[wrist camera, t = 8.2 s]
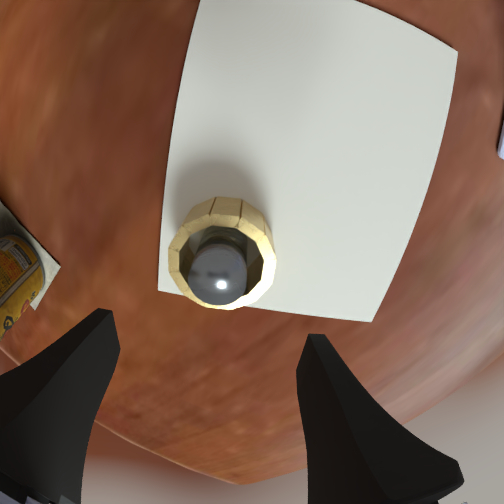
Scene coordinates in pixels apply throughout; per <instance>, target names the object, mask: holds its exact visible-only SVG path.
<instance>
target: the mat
mask: <svg viewBox="0 0 504 504" xmlns="http://www.w3.org/2000/svg"><path fill="white" fill-rule="evenodd" d="M457 55H458V52H457V51H456V50H454V49H452V48H451V47H449V46H448V45H446V44H444V43H443V42H441V41H439V40H438V39H436V38H434V37H433V36H431V35H429V34H427V33H425V32H424V31H422V30H420V29H418V28H416V27H414V26H412V25H410V24H408V23H406V22H404V21H402V20H400V19H398V18H396V17H394V16H392V15H389V14H387V13H385V12H383V11H380V10H378V9H376V8H373V7H371V6H368V5H366V4H363V3H360V2H358V1H355V0H201V1H200V4H199V8H198V11H197V15H196V19H195V23H194V26H193V30H192V34H191V38H190V43H189V47H188V51H187V55H186V60H185V64H184V69H183V74H182V79H181V84H180V89H179V94H178V100H177V105H176V111H175V117H174V123H173V129H172V136H171V143H170V150H169V157H168V165H167V173H166V182H165V191H164V201H163V212H162V224H161V238H160V255H159V277H158V290H159V291H164V292H170V293H175V294H180V295H183V293H181V291H180V290H179V288H178V287H177V285H176V284H175V282H174V281H173V279H172V277H171V276H170V274H169V272H168V247H169V245H170V243H171V241H172V239H173V238H174V236H175V234H176V232H177V230H178V229H179V227H180V225H181V224H182V222H183V221H184V219H185V218H186V216H187V215H188V213H189V212H190V210H191V209H192V207H194V206H195V205H197V204H199V203H202V202H204V201H206V200H208V199H211V198H213V197H216V198H217V196H220V197H230V198H240V199H241V201H242V200H245V201H246V202H248V203H249V204H250V205H252V206H253V207H255V208H256V209H257V210H259V211H260V212H262V213H263V214H264V217H265V219H266V221H267V223H268V226H269V228H270V230H271V233H272V236H273V242H274V248H275V254H276V264H275V270H274V275H273V281H272V283H271V285H270V286H269V287H268V288H267V289H266V290H265V292H264V293H263V294H262V295H261V296H260V297H259V298H258V299H257V300H256V301H255V300H254V302H252V303H250V304H247V305H244V306H249V307H256V308H262V309H269V310H276V311H283V312H290V313H297V314H305V315H313V316H321V317H329V318H338V319H347V320H356V321H366V322H371V321H372V320H373V318H374V316H375V314H376V312H377V310H378V308H379V306H380V304H381V302H382V300H383V298H384V296H385V293H386V291H387V289H388V287H389V285H390V283H391V281H392V279H393V276H394V274H395V272H396V270H397V267H398V265H399V263H400V260H401V258H402V256H403V253H404V251H405V249H406V246H407V244H408V241H409V239H410V236H411V234H412V231H413V228H414V226H415V223H416V220H417V218H418V215H419V212H420V209H421V207H422V204H423V201H424V198H425V195H426V192H427V189H428V186H429V183H430V179H431V176H432V173H433V169H434V166H435V163H436V159H437V156H438V152H439V148H440V144H441V140H442V136H443V132H444V128H445V124H446V119H447V115H448V110H449V105H450V100H451V95H452V89H453V83H454V77H455V70H456V63H457ZM205 229H206V228H205ZM205 229H202V230H200V231H198V232H195V233H193V234H191V235H190V237H189V247H190V249H191V250H192V252H193V254H194V256H195V254H196V252H197V249H198V246H199V243H200V241H201V238H202V235H203V232H204V231H205ZM246 236H247V235H246ZM259 254H260V250H259V248H258V246H257V244H256V241H254V240H253V239H251V238H250V237H249V236H247V268H248V267H249V266H250V265H251V264H252V262H253V261H254V260H255V259H256V258H257V257H258V255H259Z"/></svg>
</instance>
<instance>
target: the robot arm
mask: <svg viewBox="0 0 504 504" xmlns="http://www.w3.org/2000/svg"><path fill="white" fill-rule="evenodd" d="M498 155H499V157H501V158H502V159H504V122H503V128H502V133H501V137H500V142H499V146H498ZM119 353H120V345H119V340H118V336H117V331H116V327H115V322H114V317H113V312H112V311H111V310H106V309H101V308H98V309H96V310H95V311H93V312H92V313H91V314H90V315H88V316H87V317H86V318H85V319H83V320H82V321H81V322H80V323H78V324H77V325H76V326H75V327H73V328H72V329H71V330H69V331H68V332H67V333H66V334H64V335H63V336H62V337H61V338H59V339H58V340H57V341H55V342H54V343H53V344H51V345H50V346H48V347H47V348H46V349H44V350H43V351H42V352H40V353H39V354H37V355H36V356H34V357H33V358H31V359H30V360H28V361H26V362H25V363H23V364H21V365H20V366H18V367H16V368H14V369H12V370H10V371H8V372H6V373H4V374H2V375H0V504H49V503H50V504H81V488H82V477H83V469H84V462H85V456H86V450H87V446H88V441H89V437H90V433H91V429H92V425H93V422H94V419H95V416H96V414H97V411H98V409H99V406H100V404H101V401H102V399H103V397H104V394H105V392H106V390H107V387H108V385H109V382H110V380H111V378H112V375H113V373H114V370H115V367H116V363H117V360H118V356H119ZM296 379H297V395H298V401H299V407H300V413H301V418H302V424H303V430H304V435H305V441H306V449H307V465H308V504H439V503H438V500H439V499H441V498H443V497H444V496H446V495H448V494H450V493H451V492H453V491H455V490H456V489H458V488H459V487H460V486H461V485H462V484H463V483H464V478H463V475H462V472H461V470H460V467H459V464H458V462H457V461H456V460H455V459H453V458H451V457H449V456H447V455H445V454H443V453H441V452H439V451H437V450H436V449H434V448H432V447H431V446H429V445H428V444H426V443H425V442H423V441H422V440H420V439H419V438H417V437H416V436H415V435H413V434H412V433H411V432H409V431H408V430H407V429H405V428H404V427H403V426H402V425H401V424H399V423H398V422H397V421H396V420H395V419H394V418H393V417H391V416H390V415H389V414H388V413H387V412H386V411H385V410H384V409H383V408H382V407H381V406H380V405H379V404H378V403H377V402H376V401H375V400H374V399H373V398H372V396H371V395H370V394H369V393H368V392H367V391H366V389H365V388H364V387H363V386H362V385H361V383H360V382H359V381H358V380H357V378H356V377H355V376H354V374H353V373H352V372H351V371H350V369H349V368H348V367H347V365H346V364H345V363H344V361H343V360H342V358H341V357H340V356H339V354H338V353H337V351H336V350H335V348H334V347H333V346H332V344H331V343H330V341H329V340H328V338H327V337H326V336H325V334H308V337H307V340H306V343H305V346H304V349H303V352H302V355H301V358H300V361H299V363H298V366H297V369H296ZM462 504H467V502H464V503H462Z"/></svg>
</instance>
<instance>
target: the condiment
mask: <svg viewBox="0 0 504 504" xmlns="http://www.w3.org/2000/svg"><path fill="white" fill-rule="evenodd" d="M14 230H15V231H14ZM59 269H60V266H59V265H58V264H57V263H56V262H55V261H54V260H53V259H52V257H51V256H50V255H49V254H48V253H47V252H46V251H45V250H44V249H43V248H42V247H41V246H40V244H39V243H38V242H37V241H36V240H35V239H34V238H32V236H31V235H30V234H29V233H28V232H27V231H26V230H25V228H23V227H22V226H21V225H20V224H19V223H18V221H17V220H16V219H15V218H14V217H13V215H12V214H11V212H10V211H9V210H8V209H7V208H6V207H5V206H4V205H3V204H2V203H1V201H0V341H1V340H2V338H3V337H4V336H5V334H6V333H7V332H8V330H9V329H10V328H11V327H12V325H13V324H14V323H15V322H16V321H17V320H18V318H19V317H20V316H21V314H22V313H23V312H24V311H25V310H26V308H27V307H28V306H29V304H30V305H31V306H32V307H33V308H34V310H35V309H36V308H37V306H38V304H39V302H40V301H41V299H42V297H43V295H44V294H45V292H46V290H47V289H48V287H49V285H50V284H51V282H52V280H53V279H54V277H55V275H56V273H57V272H58V270H59Z"/></svg>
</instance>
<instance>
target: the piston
mask: <svg viewBox="0 0 504 504" xmlns="http://www.w3.org/2000/svg"><path fill="white" fill-rule="evenodd" d="M246 281H247V236H246V234H244V233H243V232H241V231H240V230H238V229H237V228H231V227H222V226H209V227H207V228H206V229H205V231H204V232H203V235H202V238H201V241H200V243H199V246H198V249H197V252H196V254H195V257H194V260H193V263H192V266H191V269H190V272H189V275H188V284H189V287H190V289H191V291H192V293H193V294H194V295H195V296H196V297H197V298H198V299H199V300H201V301H203V302H205V303H207V304H210V305H216V306H222V305H228V304H231V303H233V302H235V301H237V300H238V299H239V298H240V297H241V296H242V295H243V293H244V291H245V289H246Z"/></svg>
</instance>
